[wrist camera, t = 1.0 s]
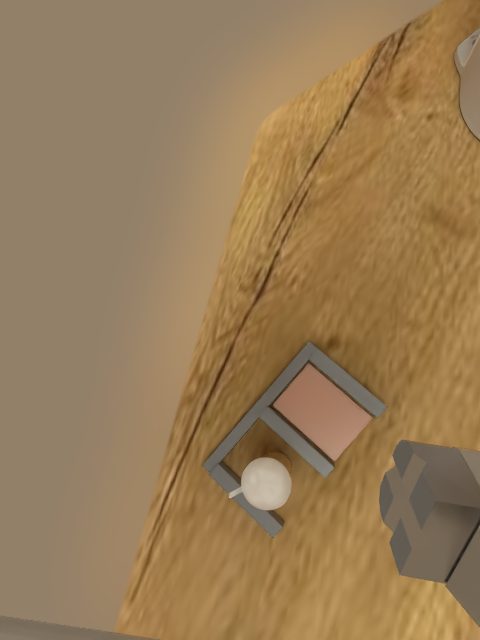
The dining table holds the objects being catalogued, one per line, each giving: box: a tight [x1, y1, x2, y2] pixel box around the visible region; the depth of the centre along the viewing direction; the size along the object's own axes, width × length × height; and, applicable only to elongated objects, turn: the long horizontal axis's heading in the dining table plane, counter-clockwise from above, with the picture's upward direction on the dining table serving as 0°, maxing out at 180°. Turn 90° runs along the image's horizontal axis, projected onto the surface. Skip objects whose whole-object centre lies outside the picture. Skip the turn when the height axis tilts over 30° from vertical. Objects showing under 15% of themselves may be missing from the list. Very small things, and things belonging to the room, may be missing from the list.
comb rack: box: [202, 342, 387, 538], centre depth 48 cm, size 18×10×2 cm, turn 138°
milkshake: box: [228, 451, 292, 510], centre depth 44 cm, size 4×5×10 cm
